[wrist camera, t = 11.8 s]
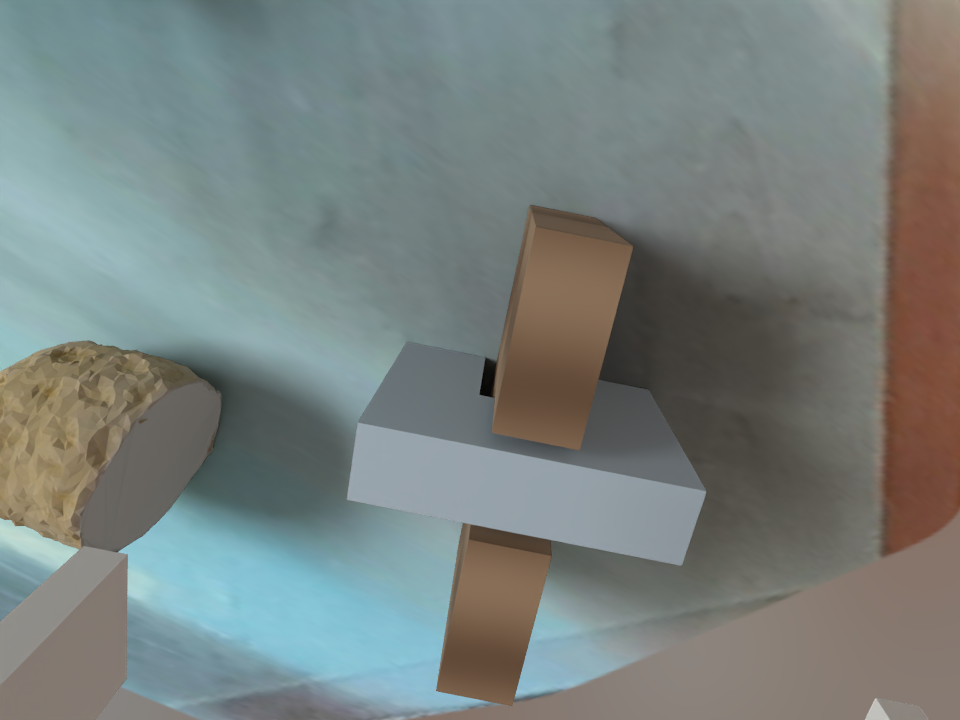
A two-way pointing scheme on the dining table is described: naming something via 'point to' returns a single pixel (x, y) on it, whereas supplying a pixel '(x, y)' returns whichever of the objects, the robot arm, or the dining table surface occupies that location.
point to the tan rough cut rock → (100, 441)
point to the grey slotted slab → (524, 463)
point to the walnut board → (532, 436)
